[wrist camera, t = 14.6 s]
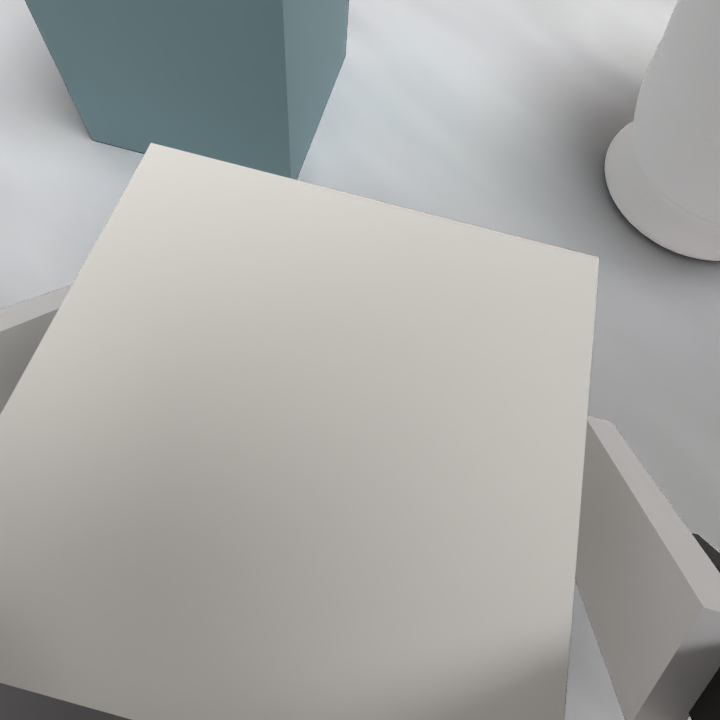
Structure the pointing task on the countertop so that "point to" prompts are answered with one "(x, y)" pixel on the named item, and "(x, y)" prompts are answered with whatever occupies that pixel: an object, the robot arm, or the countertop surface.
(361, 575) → the lid
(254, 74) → the base
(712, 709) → the robot arm
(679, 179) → the jar
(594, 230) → the countertop surface
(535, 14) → the countertop surface
